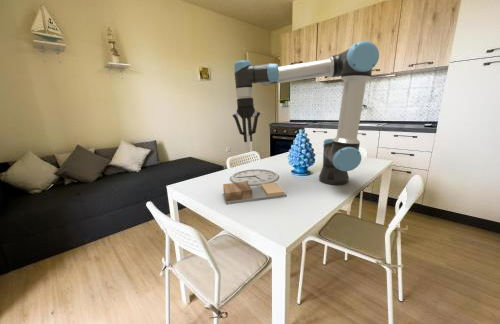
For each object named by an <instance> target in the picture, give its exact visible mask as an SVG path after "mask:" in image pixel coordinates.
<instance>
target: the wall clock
mask: <svg viewBox="0 0 500 324" xmlns="http://www.w3.org/2000/svg"><path fill="white" fill-rule="evenodd" d="M279 179H280V175H279V174H278V173H276V172H274V171H271V170H268V169H259V168H257V169H245V170H241V171H238V172H235V173H233V174H232V175H231V176H230V177H229V182H230V183H238V182H248V184H249V186H250V187H261V184H267V183H275V182H276V183H277V182H278V181H279Z"/></svg>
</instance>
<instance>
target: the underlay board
mask: <svg viewBox="0 0 500 324" xmlns="http://www.w3.org/2000/svg"><path fill="white" fill-rule="evenodd" d="M251 189H252V198H250V199H242V200H234V201H227V202H226V201H225V203H226V205H232V204H241V203H247V202H248V203H250V202H257V201H263V200H265V201H266V200H270V199H272V200H273V199H280V198H286V197H287V196H288V194H287V193H286V192H285V191H284V189H282V187H280V185H279V184H277V181H276V182H274V183H267V184H261V186H252V187H251Z"/></svg>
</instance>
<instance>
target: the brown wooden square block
mask: <svg viewBox="0 0 500 324" xmlns="http://www.w3.org/2000/svg"><path fill="white" fill-rule="evenodd" d="M222 185H223V186H222V187H223V189H222V190H223V195H224V199H225V203H226V202H227V201H234V200H242V199H250V198H252V189H251V188H252V186H249V184H248V182H238V183H232V182H229V183H223V184H222Z"/></svg>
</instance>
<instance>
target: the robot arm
mask: <svg viewBox="0 0 500 324" xmlns="http://www.w3.org/2000/svg"><path fill="white" fill-rule="evenodd" d="M379 58H380V52H379V48H378V47H377V45H375V43H373V42H372V41H369V40H363V41H362V40H361V41H359V42H355V43H354V44H352V45H351V46H350V47H349V48H347V49H346V50H344V51H343V52H340V53H337V54H333V55H330V56H329V57H328V58H326V59H325V58H324V59H318V60H312V61H311V60H310V61H305V62H300V63H299V62H298V63H294V64H287V65H281V66H279V64H278V63H271V62H270V63H265V64H257V65H256V64H254V65H252V62H251V61H250V60H246V59H245V60H243V59H242V60H237V61H236V62H234V64H233V65H234V82H235V94H236V98H237V100H236V104H237V109H236V112H235V113H234V114H232V115H231V116H232V117H233V118H234V121H235V123H236V127H237V130H238V132H239V135H242V136H243V143H245V144H246V149H247V150H251V148H252V147H251V142H253V134H256V133H257V132H256V131H257V128H258V127H257V126H258V119H259V116H260V115H261V113H260V112H258V111H257V110H256V109H255V103H254V98H253V96H254V93H253V92H254V91H253V90H254V89H253V84H261V85H262V86H270V85H275V84H282V83H287V82H294V81H301V80H302V81H303V80H307V79H314V78H321V77H327V76H328V77H329V78H337V77H340V79H341V80H342V81H343V88H342V96H341V101H340V102H341V104H340V111H339V117H338V123H337V124H338V125H337V133H336V136H335V137H334V138H326V139H324V140H323V153H322V155H323V156H322V168H321V170H320V172H319V175H318V181H319V182H321V183H322V184H327V185H332V186H333V185H334V186H340V185H341V186H342V185H346V184H348V183H349V180H350V178H349V173H348V172H351V171H353V170H355V169H356V168H358V167H359V165H360V164H361V163H362V154H361V152H360V143H361V141H360V140H359V139H358V134H359V133H358V132H359V127H360V122H361V114H362V108H363V102H364V96H365V90H366V85H367V82H368V81H369V80H370V79H371V78H372V72H373V68H375V67H376V65H377V64H378V62H379ZM253 116H254V118H253V124H252V117H253ZM239 117H240V119H241V122H242V126H241V124H240V121H239ZM246 120H247V121H246ZM246 122H247V123H246ZM247 130H248V134H247Z"/></svg>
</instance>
